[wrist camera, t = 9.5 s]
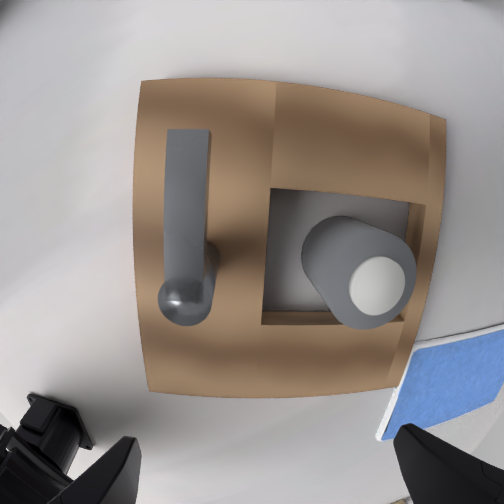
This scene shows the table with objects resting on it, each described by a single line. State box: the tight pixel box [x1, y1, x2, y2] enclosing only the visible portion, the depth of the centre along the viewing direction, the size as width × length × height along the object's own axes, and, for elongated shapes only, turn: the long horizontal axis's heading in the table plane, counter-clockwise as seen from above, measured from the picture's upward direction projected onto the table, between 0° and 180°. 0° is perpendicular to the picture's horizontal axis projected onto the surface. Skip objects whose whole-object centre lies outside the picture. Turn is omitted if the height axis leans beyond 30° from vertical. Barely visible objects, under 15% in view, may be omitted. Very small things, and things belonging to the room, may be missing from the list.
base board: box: [133, 78, 446, 398], centre depth 17 cm, size 20×19×2 cm
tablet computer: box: [375, 324, 504, 441], centre depth 23 cm, size 19×13×1 cm, turn 89°
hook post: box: [158, 129, 220, 326], centre depth 13 cm, size 7×2×6 cm, turn 177°
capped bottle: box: [301, 216, 417, 330], centre depth 16 cm, size 5×5×6 cm
